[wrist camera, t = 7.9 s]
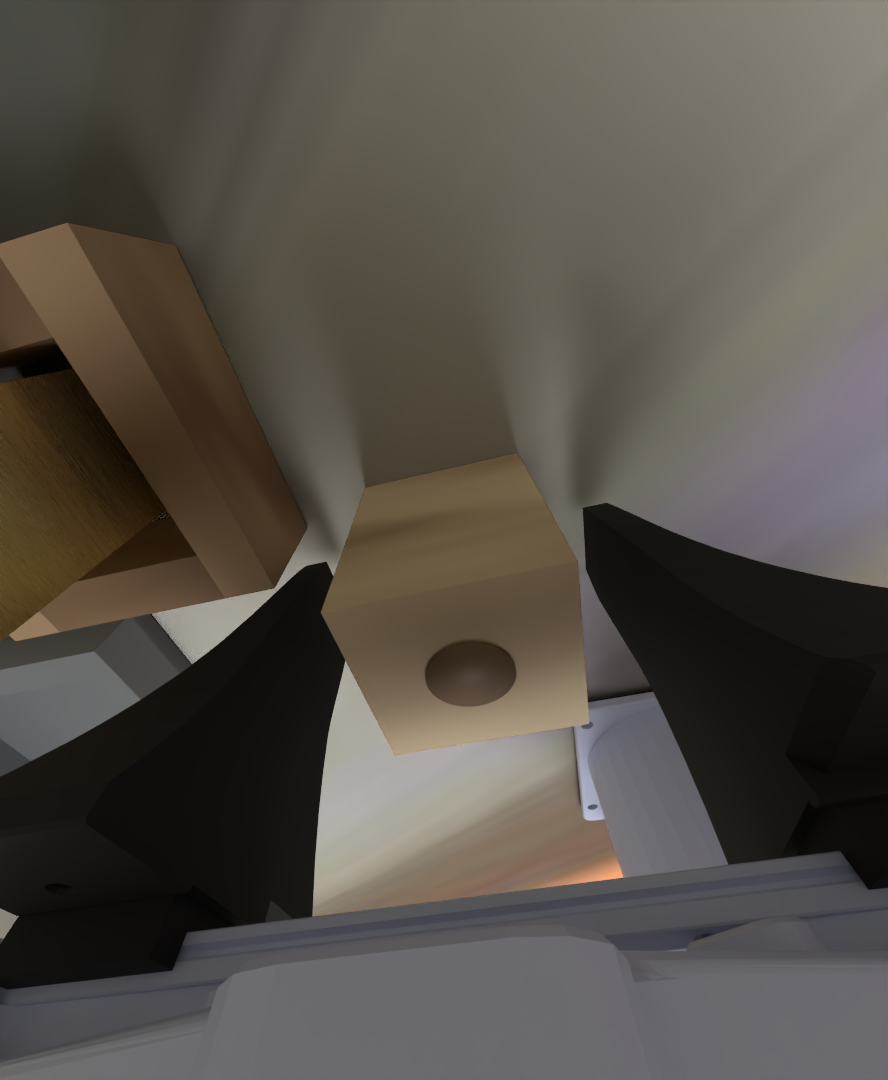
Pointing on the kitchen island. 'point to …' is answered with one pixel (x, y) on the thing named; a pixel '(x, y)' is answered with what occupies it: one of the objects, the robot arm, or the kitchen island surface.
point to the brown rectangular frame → (151, 421)
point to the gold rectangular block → (60, 492)
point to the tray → (77, 682)
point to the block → (460, 608)
